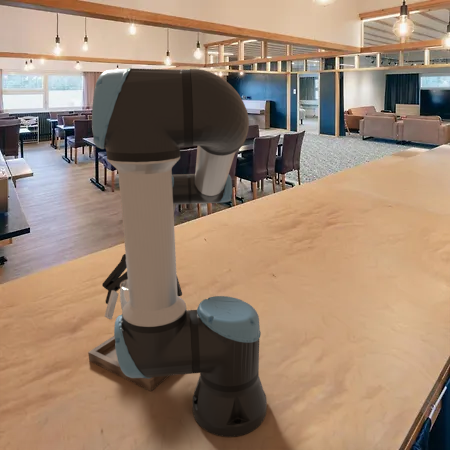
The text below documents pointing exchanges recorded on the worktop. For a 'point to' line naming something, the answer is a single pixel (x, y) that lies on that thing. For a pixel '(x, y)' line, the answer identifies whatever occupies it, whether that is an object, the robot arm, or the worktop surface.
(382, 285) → the worktop surface
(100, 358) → the walnut tray
